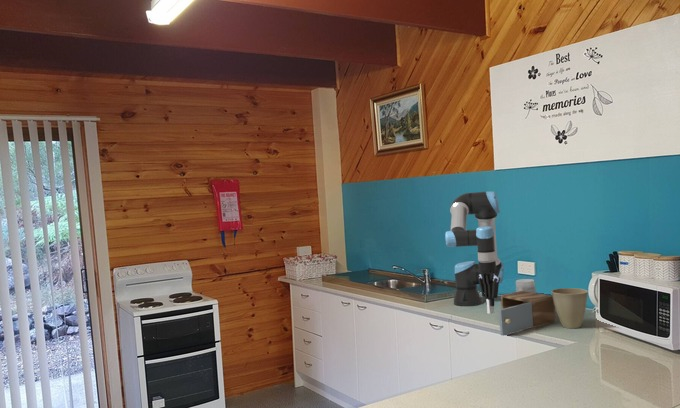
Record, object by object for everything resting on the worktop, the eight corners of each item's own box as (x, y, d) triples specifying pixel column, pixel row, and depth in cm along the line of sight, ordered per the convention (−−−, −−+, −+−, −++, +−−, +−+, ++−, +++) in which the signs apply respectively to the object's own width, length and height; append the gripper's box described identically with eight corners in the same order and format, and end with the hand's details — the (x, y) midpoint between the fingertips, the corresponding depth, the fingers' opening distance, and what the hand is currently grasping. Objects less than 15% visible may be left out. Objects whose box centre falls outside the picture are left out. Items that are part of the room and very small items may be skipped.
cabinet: (502, 319, 260) (500, 295, 260) (523, 314, 266) (522, 290, 266) (534, 327, 242) (532, 300, 242) (556, 321, 248) (554, 296, 248)
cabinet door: (531, 326, 242) (529, 302, 242) (536, 327, 240) (534, 303, 240) (500, 335, 232) (498, 309, 232) (505, 336, 230) (503, 310, 229)
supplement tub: (540, 307, 279) (538, 279, 279) (531, 311, 273) (529, 282, 273) (523, 305, 286) (521, 278, 286) (514, 309, 280) (512, 281, 280)
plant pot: (587, 331, 229) (584, 294, 228) (550, 329, 237) (548, 293, 236) (592, 323, 241) (590, 288, 241) (557, 321, 249) (555, 287, 249)
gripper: (503, 261, 236) (507, 314, 237) (483, 258, 248) (487, 309, 249) (490, 263, 233) (494, 317, 234) (470, 261, 245) (474, 312, 246)
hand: (490, 313), depth 241 cm, fingers closed
